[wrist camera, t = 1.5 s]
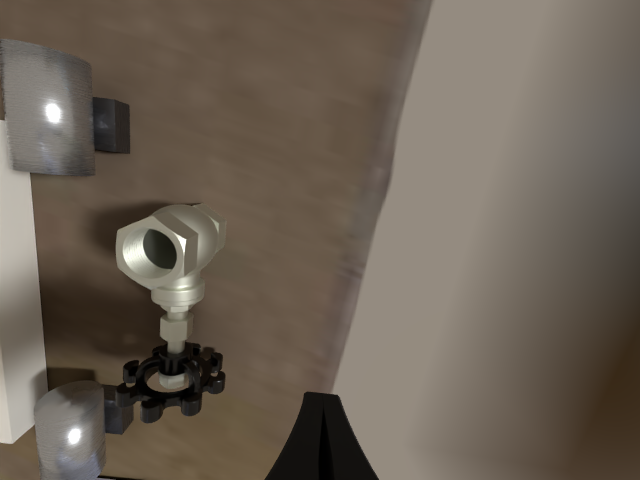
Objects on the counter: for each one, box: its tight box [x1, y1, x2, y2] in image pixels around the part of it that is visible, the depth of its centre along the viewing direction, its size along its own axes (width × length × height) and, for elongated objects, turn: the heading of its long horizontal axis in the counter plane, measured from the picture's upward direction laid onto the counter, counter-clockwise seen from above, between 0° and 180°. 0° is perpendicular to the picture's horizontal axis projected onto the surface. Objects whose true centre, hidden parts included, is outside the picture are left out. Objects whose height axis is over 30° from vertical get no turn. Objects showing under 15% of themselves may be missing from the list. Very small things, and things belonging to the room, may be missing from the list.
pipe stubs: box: [0, 39, 133, 480], centre depth 19 cm, size 27×4×5 cm, turn 173°
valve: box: [115, 203, 226, 423], centre depth 19 cm, size 7×7×12 cm
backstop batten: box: [0, 120, 48, 444], centre depth 20 cm, size 22×2×3 cm, turn 173°
